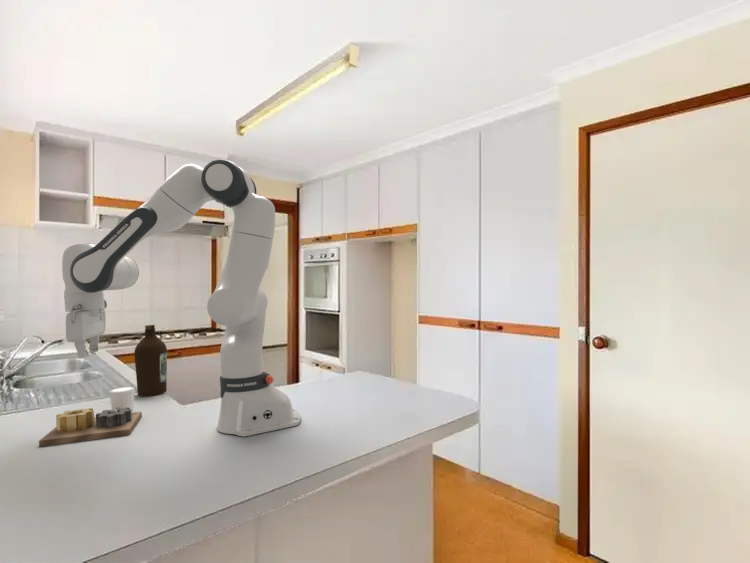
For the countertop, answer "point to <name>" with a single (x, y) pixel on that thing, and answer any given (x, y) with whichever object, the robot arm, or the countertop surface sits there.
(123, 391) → the white short cylinder
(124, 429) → the gear board
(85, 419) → the brass gear
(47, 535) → the countertop surface
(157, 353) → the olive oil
